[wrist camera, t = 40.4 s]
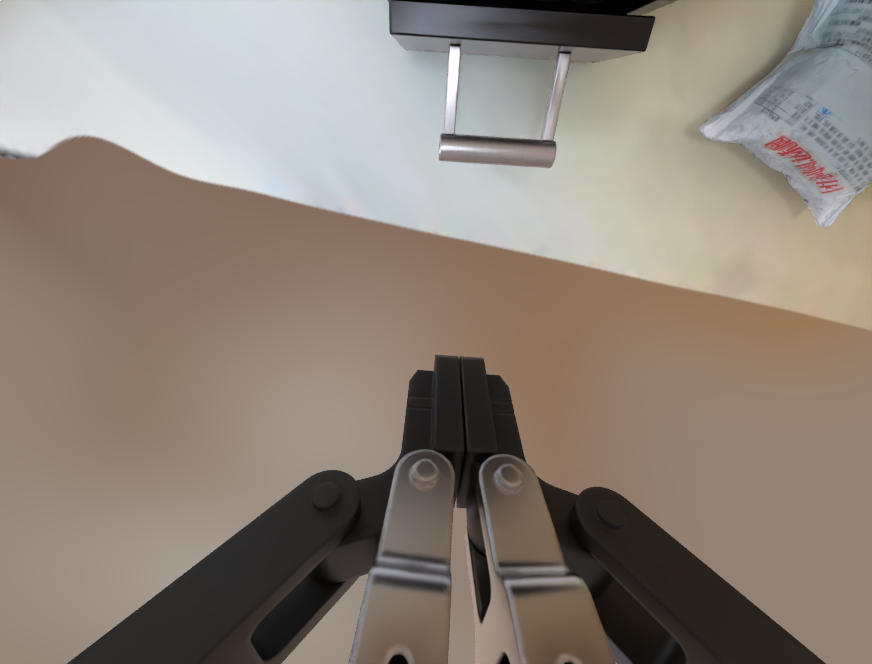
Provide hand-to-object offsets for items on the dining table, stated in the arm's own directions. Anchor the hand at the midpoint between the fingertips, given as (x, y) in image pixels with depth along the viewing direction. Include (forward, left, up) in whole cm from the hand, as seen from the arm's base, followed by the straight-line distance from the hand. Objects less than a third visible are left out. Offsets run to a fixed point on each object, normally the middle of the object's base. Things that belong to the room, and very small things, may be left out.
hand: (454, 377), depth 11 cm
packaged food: (+22, +8, -20) cm, 30 cm away
